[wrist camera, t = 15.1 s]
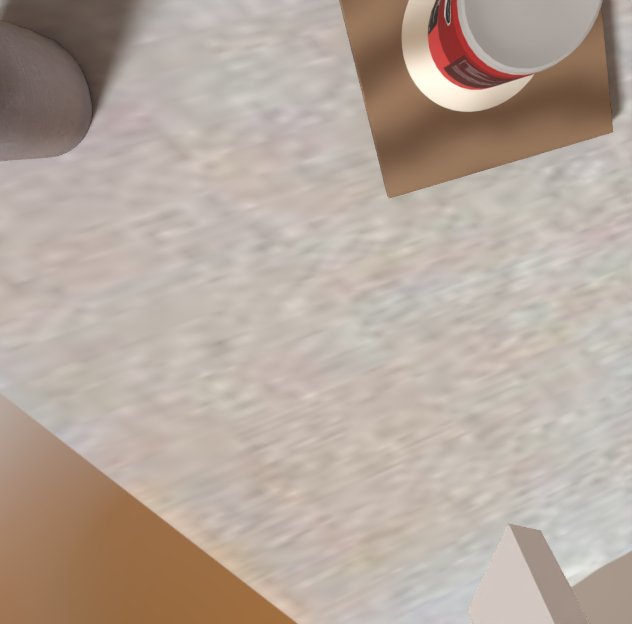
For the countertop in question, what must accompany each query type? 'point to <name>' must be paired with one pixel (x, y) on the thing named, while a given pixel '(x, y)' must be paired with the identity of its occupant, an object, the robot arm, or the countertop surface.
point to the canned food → (505, 37)
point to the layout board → (464, 100)
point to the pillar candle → (39, 96)
